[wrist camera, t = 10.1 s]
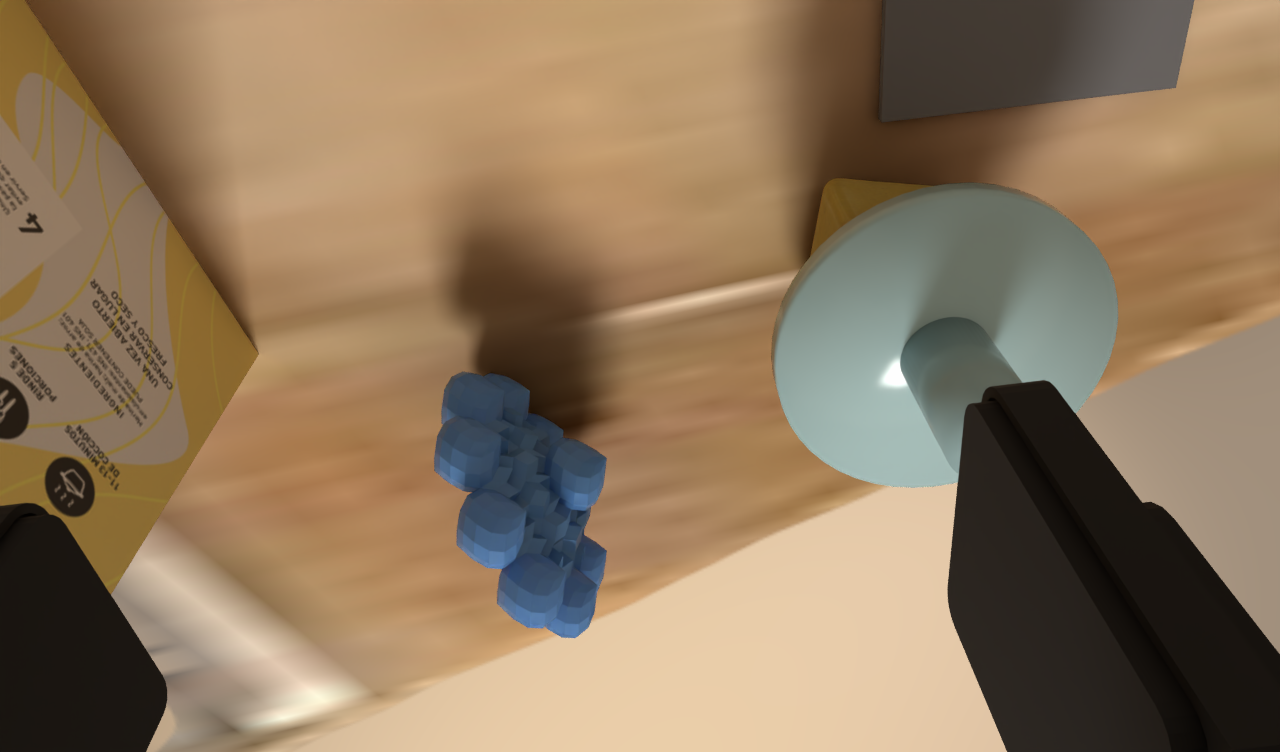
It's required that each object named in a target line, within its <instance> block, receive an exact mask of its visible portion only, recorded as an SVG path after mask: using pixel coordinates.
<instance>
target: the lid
mask: <svg viewBox="0 0 1280 752" xmlns="http://www.w3.org/2000/svg"><path fill="white" fill-rule="evenodd" d="M1117 323H1118V300H1117V294H1116V289H1115V284H1114V280H1113V277H1112V275H1111V272H1110V270H1109V267H1108V264H1107V263H1106V261H1105V259H1104V258H1103V256H1102V254H1101V253H1100V251H1099V249H1098V248H1097V246H1096V245H1095V244H1094V243H1093V242H1092V241H1091V240H1090V238H1089V237H1088V236H1087V235H1086V234H1085V233H1084V232H1083V231H1082V230H1081V229H1080V228H1079V227H1077V226H1076V225H1075V224H1074V223H1073V222H1072V221H1071V220H1070V219H1069V218H1067V217H1066V216H1065V215H1064V214H1062V213H1061V212H1060V211H1059V210H1057V209H1056V208H1055V207H1054V206H1052V205H1050V204H1048V203H1047V202H1045V201H1043V200H1041V199H1040V198H1038V197H1036V196H1033V195H1031V194H1028V193H1025V192H1023V191H1020V190H1017V189H1014V188H1009V187H1005V186H1000V185H995V184H984V183H972V182H971V183H951V184H943V185H937V186H932V187H926V188H922V189H918V190H915V191H912V192H908V193H905V194H901V195H899V196H896V197H894V198H892V199H889V200H887V201H885V202H882V203H880V204H878V205H876V206H874V207H872V208H870V209H869V210H867V211H865V212H863V213H862V214H860V215H858V216H856V217H855V218H854V219H852V220H851V221H849V222H848V223H847V224H845V225H844V226H842V227H841V228H840V229H838V230H837V231H836V232H835V233H834V234H832V235H831V236H830V237H829V238H828V239H827V240H826V241H825V242H824V243H823V244H821V245H820V246H819V247H818V249H817V250H816V251H815V252H814V253H813V254H812V255H811V257H810V258H809V259H808V260H807V261H806V262H805V263H804V265H803V266H802V268H801V269H800V271H799V272H798V274H797V275H796V277H795V278H794V280H793V281H792V283H791V285H790V287H789V289H788V291H787V293H786V295H785V297H784V299H783V301H782V303H781V306H780V309H779V312H778V315H777V318H776V321H775V326H774V331H773V336H772V350H771V360H772V369H773V376H774V380H775V384H776V387H777V391H778V394H779V398H780V401H781V404H782V408H783V410H784V413H785V415H786V417H787V419H788V421H789V424H790V426H791V427H792V429H793V430H794V432H795V433H796V434H797V436H798V437H799V439H800V440H801V441H802V442H803V443H804V444H805V446H806V447H807V448H808V449H809V450H810V451H811V452H812V453H813V454H815V455H816V456H817V457H818V458H820V459H821V460H822V461H824V462H825V463H826V464H828V465H830V466H832V467H833V468H835V469H837V470H838V471H840V472H842V473H845V474H847V475H850V476H852V477H854V478H857V479H860V480H864V481H867V482H871V483H874V484H880V485H887V486H893V487H911V488H915V487H933V486H939V485H946V484H953V483H957V482H958V475H959V465H960V455H961V444H962V434H963V424H964V415H965V410H966V408H967V405H969V404H971V403H979V402H981V401H982V396H983V393H984V391H985V390H986V389H987V388H988V387H991V386H999V385H1007V384H1016V383H1024V382H1032V381H1040V380H1045V381H1049V382H1051V383H1052V384H1053V385H1054V386H1055V387H1056V389H1057V390H1058V391H1059V393H1060V394H1061V395H1062V397H1063V398H1064V399H1065V401H1066V402H1067V403H1068V405H1069V406H1070V407H1071V409H1072V410H1073V411H1074V413H1075V414H1076V412H1077V411H1078V410H1079V409H1080V408H1081V407H1082V405H1083V404H1084V403H1085V401H1086V400H1087V399H1088V397H1089V396H1090V395H1091V393H1092V392H1093V390H1094V388H1095V387H1096V385H1097V383H1098V382H1099V380H1100V378H1101V376H1102V374H1103V372H1104V370H1105V368H1106V365H1107V363H1108V361H1109V358H1110V356H1111V352H1112V349H1113V345H1114V341H1115V338H1116V330H1117Z"/></svg>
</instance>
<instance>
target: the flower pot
mask: <svg viewBox="0 0 1280 752" xmlns="http://www.w3.org/2000/svg"><path fill="white" fill-rule="evenodd" d="M926 187H932V186H930V185H917V184H904V183H891V182H878V181H867V180H856V179H845V178H835V179H832V180H830V181H829V182H828V183H827V184H826V185H825V187H824V190H823V194H822V199H821V204H820V209H819V214H818V219H817V224H816V229H815V235H814V240H813V245H812V250H811V255H812V254H813V253H814V252H815V251H816V250H817V249H818V247H819V246H820V245H821V244H823V243H824V242H825V241H826V240H827V239H828V238H829V237H830V236H831V235H832V234H834V233H835V232H836V231H837V230H838V229H840V228H841V227H842V226H844V225H845V224H847V223H848V222H849V221H851V220H852V219H854V218H855V217H856V216H858V215H860V214H862V213H863V212H865V211H867V210H869V209H870V208H872V207H874V206H876V205H878V204H880V203H882V202H885V201H887V200H889V199H892V198H894V197H896V196H899V195H901V194H905V193H908V192H912V191H915V190H918V189H922V188H926ZM811 255H810V257H811Z"/></svg>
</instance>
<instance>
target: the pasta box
mask: <svg viewBox="0 0 1280 752" xmlns="http://www.w3.org/2000/svg"><path fill="white" fill-rule="evenodd" d="M258 355H259V354H258V352H257V351H256V349H255V348H254V346H253V345H252V343H251V342H250V340H249V339H248V337H247V336H246V334H245V333H244V331H243V330H242V328H241V326H240V325H239V323H238V322H237V320H236V319H235V317H234V316H233V314H232V313H231V311H230V310H229V308H228V307H227V305H226V304H225V302H224V301H223V299H222V298H221V296H220V295H219V293H218V292H217V290H216V289H215V287H214V286H213V284H212V283H211V281H210V280H209V278H208V277H207V275H206V274H205V272H204V271H203V269H202V268H201V266H200V264H199V263H198V261H197V260H196V258H195V257H194V255H193V254H192V252H191V251H190V249H189V248H188V246H187V245H186V243H185V242H184V240H183V239H182V237H181V236H180V234H179V233H178V231H177V230H176V228H175V227H174V225H173V224H172V222H171V221H170V219H169V218H168V216H167V215H166V213H165V212H164V210H163V209H162V207H161V206H160V204H159V202H158V201H157V199H156V198H155V196H154V195H153V193H152V192H151V190H150V189H149V187H148V186H147V184H146V183H145V181H144V180H143V178H142V177H141V175H140V174H139V172H138V171H137V169H136V168H135V166H134V165H133V163H132V162H131V160H130V159H129V157H128V156H127V154H126V153H125V151H124V150H123V148H122V147H121V145H120V143H119V142H118V140H117V139H116V137H115V136H114V134H113V133H112V131H111V130H110V128H109V127H108V125H107V124H106V122H105V121H104V119H103V118H102V116H101V115H100V113H99V112H98V110H97V109H96V107H95V106H94V104H93V103H92V101H91V100H90V98H89V97H88V95H87V94H86V92H85V91H84V89H83V88H82V86H81V85H80V83H79V81H78V80H77V78H76V77H75V75H74V74H73V72H72V71H71V69H70V68H69V66H68V65H67V63H66V62H65V60H64V59H63V57H62V56H61V54H60V53H59V51H58V50H57V48H56V47H55V45H54V44H53V42H52V41H51V39H50V38H49V36H48V35H47V33H46V32H45V30H44V29H43V27H42V26H41V24H40V22H39V21H38V19H37V18H36V16H35V15H34V13H33V12H32V10H31V9H30V7H29V6H28V4H27V3H26V1H25V0H0V506H4V505H12V504H20V503H36V504H37V505H39V506H41V507H43V508H44V509H45V510H46V511H47V512H48V513H49V514H50V515H55V516H57V517H59V518H61V520H62V521H63V522H64V523H65V524H66V526H67V527H68V529H69V530H70V532H71V534H72V535H73V537H74V538H75V540H76V541H77V543H78V545H79V546H80V548H81V549H82V551H83V552H84V554H85V555H86V557H87V559H88V560H89V562H90V563H91V565H92V566H93V568H94V569H95V571H96V573H97V574H98V576H99V577H100V579H101V580H102V582H103V583H104V585H105V587H106V588H107V590H108V591H109V593H110V594H112V592H113V590H114V589H115V587H116V586H117V584H118V582H119V581H120V579H121V577H122V576H123V574H124V573H125V571H126V569H127V568H128V566H129V564H130V563H131V561H132V559H133V558H134V556H135V555H136V553H137V551H138V550H139V548H140V546H141V545H142V543H143V542H144V540H145V538H146V537H147V535H148V533H149V532H150V530H151V529H152V527H153V525H154V524H155V522H156V520H157V519H158V517H159V516H160V514H161V512H162V511H163V509H164V507H165V506H166V504H167V503H168V501H169V499H170V498H171V496H172V494H173V493H174V491H175V490H176V488H177V486H178V485H179V483H180V481H181V480H182V478H183V477H184V475H185V473H186V472H187V470H188V468H189V467H190V465H191V464H192V462H193V460H194V459H195V457H196V455H197V454H198V452H199V451H200V449H201V447H202V446H203V444H204V442H205V441H206V439H207V437H208V436H209V434H210V433H211V431H212V429H213V428H214V426H215V424H216V423H217V421H218V420H219V418H220V416H221V415H222V413H223V411H224V410H225V408H226V407H227V405H228V403H229V402H230V400H231V398H232V397H233V395H234V394H235V392H236V390H237V389H238V387H239V385H240V384H241V382H242V381H243V379H244V377H245V376H246V374H247V372H248V371H249V369H250V368H251V366H252V364H253V363H254V361H255V359H256V358H257V356H258Z"/></svg>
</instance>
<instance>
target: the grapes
mask: <svg viewBox="0 0 1280 752" xmlns="http://www.w3.org/2000/svg"><path fill="white" fill-rule="evenodd" d="M529 399H530V391H529V390H528V389H527V388H525V387H524V386H522V385H521V384H519V383H518V382H516V381H514V380H512V379H511V378H509V377H506V376H504V375H499V374H493V373H489V374H487V375H485V376H481V375H478V374H474V373H469V372H461V373H459V374H456V375H454V376H452V377H451V379H450V380H449V382H448V384H447V386H446V388H445V390H444V397H443V403H442V411H441V414H442V424H443V426H442V428H441V430H440V432H439V434H438V436H437V442H436V449H435V456H434V471H435V472H436V473H438V474H439V475H440V476H441V477H442V478H443V479H445V480H446V481H447V482H449V483H450V484H452V485H454V486H455V487H457V488H459V489H461V490H462V491H466V492H473V493H471V494H469V495H468V496H467V498H466V500H465V502H464V504H463V506H462V508H461V510H460V513H459V519H458V526H457V546H458V547H460V548H461V549H462V550H463V551H464V552H465V553H466V554H467V555H468V556H469V557H470V558H472V559H473V560H474V561H476V562H478V563H480V564H481V565H483V566H485V567H487V568H495V569H502V571H501V573H500V576H499V583H498V590H497V604H498V605H499V606H500V607H501V608H502V609H503V610H504V611H505V612H506V613H507V614H509V615H510V616H511V617H512V618H513V619H514V620H516V621H518V622H519V623H521V624H523V625H524V626H526V627H528V628H544V627H546V628H547V629H548V630H550V631H552V632H553V633H555V634H557V635H559V636H560V637H564V638H576V637H577V636H579V635H580V634H581V633H582V632H583V631H585V630H586V629H587V628H588V627H589V625H590V622H591V620H592V617H593V615H594V611H595V604H596V597H597V591H598V589H599V586H600V584H601V581H602V579H603V576H604V569H605V562H606V552H607V551H606V550H605V549H604V548H602V547H601V546H600V545H599V544H598V543H596V542H595V541H593V540H592V539H590V538H588V537H587V536H585V535H584V528H585V526H586V524H587V521H588V519H589V517H590V511H591V506H592V505H594V504H595V503H596V501H597V500H598V497H599V495H600V492H601V490H602V488H603V484H604V477H605V469H606V457H604V456H603V455H602V454H600V453H599V452H598V451H596V450H595V449H593V448H591V447H589V446H588V445H586V444H584V443H582V442H580V441H578V440H575V439H569V438H563V431H564V430H562V429H561V428H560V427H558V426H557V425H556V424H554V423H553V422H551V421H549V420H547V419H545V418H544V417H542V416H539V415H537V414H531V413H528V409H529Z"/></svg>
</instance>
